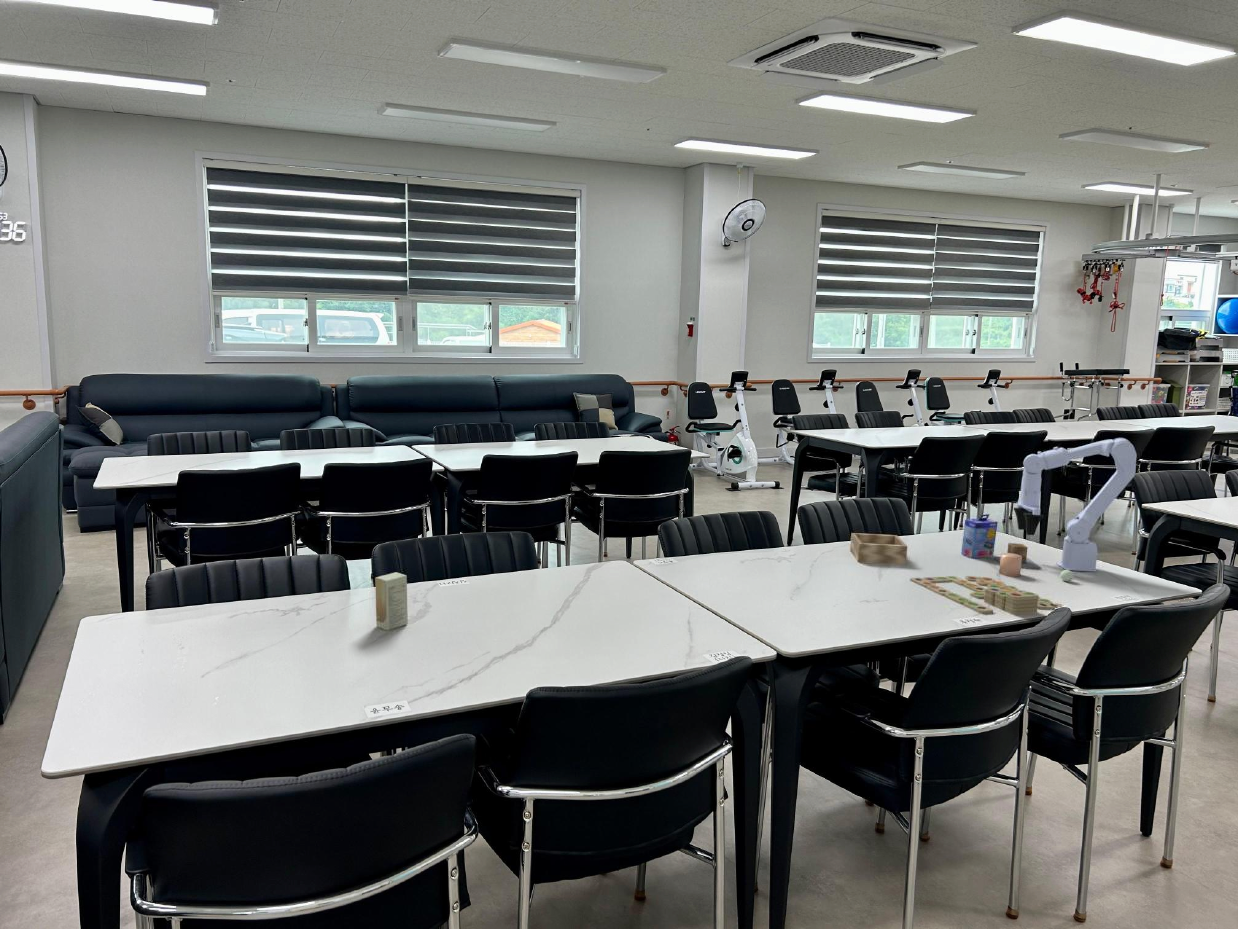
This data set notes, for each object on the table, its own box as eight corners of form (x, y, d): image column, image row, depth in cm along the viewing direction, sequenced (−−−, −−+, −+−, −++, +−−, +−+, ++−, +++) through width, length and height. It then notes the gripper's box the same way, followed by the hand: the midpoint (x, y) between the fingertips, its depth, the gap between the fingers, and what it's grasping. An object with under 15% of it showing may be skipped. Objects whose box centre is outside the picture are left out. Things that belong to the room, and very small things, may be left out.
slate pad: (1028, 560, 292) (1028, 558, 291) (1040, 568, 281) (1040, 567, 281) (993, 558, 292) (993, 556, 292) (1005, 566, 282) (1005, 565, 282)
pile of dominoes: (1071, 612, 238) (1073, 592, 238) (988, 619, 230) (990, 599, 229) (982, 577, 271) (984, 559, 270) (907, 581, 263) (909, 563, 262)
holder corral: (895, 552, 295) (896, 535, 294) (905, 564, 280) (907, 546, 279) (850, 550, 296) (851, 533, 296) (857, 562, 282) (859, 543, 281)
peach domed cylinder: (1016, 572, 276) (1018, 553, 275) (1022, 577, 270) (1024, 558, 269) (996, 571, 277) (998, 552, 276) (1002, 576, 271) (1004, 557, 270)
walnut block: (1020, 560, 289) (1022, 543, 288) (1025, 563, 284) (1027, 547, 283) (1006, 559, 289) (1008, 543, 288) (1011, 563, 284) (1013, 546, 284)
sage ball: (1069, 580, 269) (1071, 568, 268) (1074, 583, 265) (1075, 572, 265) (1057, 579, 269) (1059, 568, 269) (1062, 582, 266) (1063, 571, 265)
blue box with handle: (972, 558, 291) (977, 516, 289) (960, 554, 296) (964, 512, 294) (994, 556, 295) (999, 514, 293) (982, 552, 300) (986, 510, 298)
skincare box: (397, 620, 213) (397, 571, 211) (408, 624, 210) (408, 575, 208) (374, 626, 208) (374, 576, 206) (385, 631, 205) (385, 580, 203)
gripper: (1009, 486, 293) (1005, 526, 295) (1025, 494, 279) (1021, 536, 281) (1031, 487, 293) (1027, 527, 295) (1048, 495, 278) (1044, 537, 280)
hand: (1026, 532), depth 288 cm, fingers open, 7 cm apart
